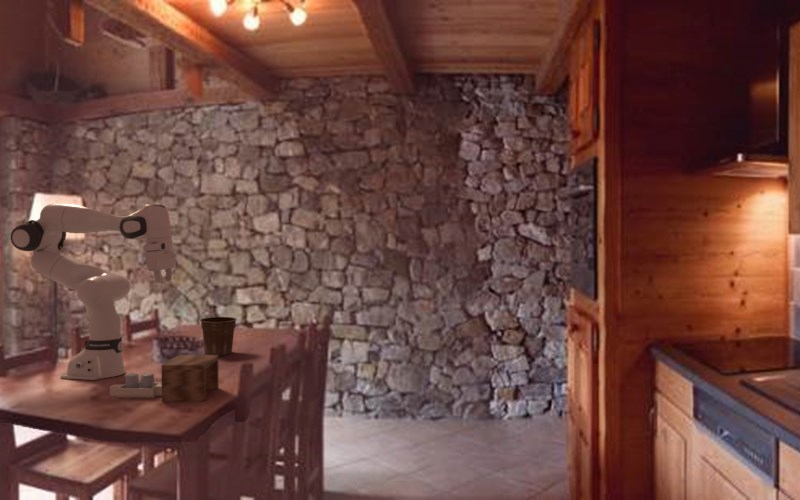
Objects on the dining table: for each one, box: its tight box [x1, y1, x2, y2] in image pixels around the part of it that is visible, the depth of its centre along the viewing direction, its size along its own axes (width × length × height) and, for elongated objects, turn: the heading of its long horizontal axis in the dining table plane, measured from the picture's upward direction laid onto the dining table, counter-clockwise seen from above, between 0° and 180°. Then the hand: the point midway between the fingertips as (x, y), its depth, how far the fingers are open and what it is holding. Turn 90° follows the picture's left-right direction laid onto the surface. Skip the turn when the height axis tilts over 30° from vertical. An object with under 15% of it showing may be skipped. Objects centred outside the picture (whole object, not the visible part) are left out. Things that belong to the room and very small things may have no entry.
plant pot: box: [199, 316, 238, 357], centre depth 263 cm, size 16×16×16 cm
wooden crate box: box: [161, 354, 220, 402], centre depth 196 cm, size 14×16×12 cm
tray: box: [109, 373, 162, 399], centre depth 195 cm, size 19×8×7 cm, turn 92°
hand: (164, 281), depth 218 cm, fingers open, 8 cm apart
